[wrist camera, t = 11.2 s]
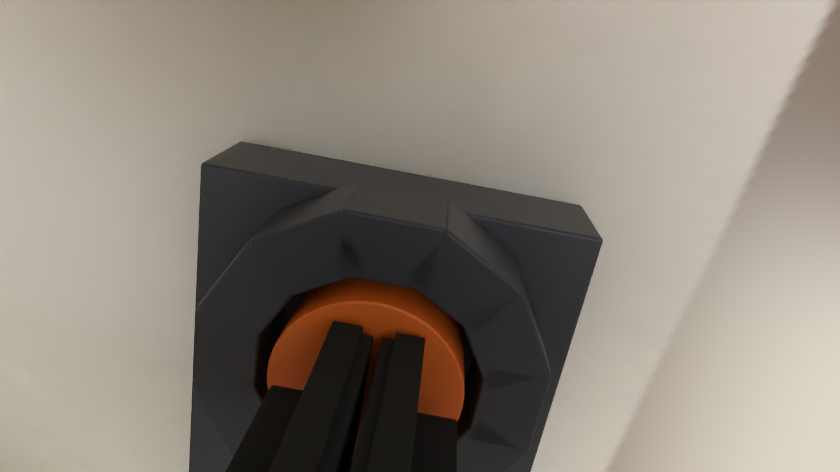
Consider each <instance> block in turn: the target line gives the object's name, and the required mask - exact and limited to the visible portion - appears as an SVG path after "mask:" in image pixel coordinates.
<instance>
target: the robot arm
mask: <svg viewBox="0 0 840 472" xmlns="http://www.w3.org/2000/svg"><path fill="white" fill-rule="evenodd" d="M372 344H373V336H369V335H364V334H363V326H360V325H355V324H349V323H344V322H339V321H333V322H332V324H331V327H330V329H329V331H328V334H327V336H326V339H325V341H324V343H323V346H322V348H321V350H320V353H319V355H318V357H317V360H316V362H315V364H314V367H313V369H312V371H311V374H310V376H309V378H308V381H307V383H306V385H305V388H304V390H298V389H293V388H288V387H282V386H277V385H272V386H271V387H270V388H269V390H268V392H267V393H266V395H265V397H264V399H263V401H262V403H261V405H260V407H259V409H258V411H257V413H256V414H255V416H254V418H253V420H252V422H251V424H250V426H249V428H248V430H247V432H246V434H245V436H244V437H243V439H242V441H241V443H240V445H239V447H238V449H237V451H236V453H235V455H234V457H233V459H232V460H231V462H230V464H229V466H228V468H227V470H226V472H457V421H456V419H451V418H446V417H441V416H436V415H430V414H425V413H420V412H417V411H418V402H419V393H420V384H421V375H422V366H423V357H424V348H425V338H423V337H418V336H413V335H407V334H402V333H397V332H396V335H395V340H390V339H385V338H383V339H382V343H381V347H380V351H379V355H378V359H377V363H376V367H375V371H374V376H373V380H372V384H371V388H370V392H369V396H368V400H367V404H366V408H365V412H364V416H363V420H362V424H361V428H360V432H359V436H358V440H357V444H356V438H357V432H358V426H359V420H360V415H361V409H362V403H363V397H364V391H365V385H366V379H367V373H368V367H369V361H370V356H371V350H372ZM355 444H356V448H355ZM354 450H355V452H354ZM353 456H354V457H353Z"/></svg>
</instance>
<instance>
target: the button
mask: <svg viewBox="0 0 840 472" xmlns="http://www.w3.org/2000/svg"><path fill="white" fill-rule="evenodd" d="M333 321H339V322H344V323H349V324H355V325H360V326H363V334H364V335H369V336H373V344H372V350H371V356H370V361H369V367H368V373H367V379H366V385H365V391H364V397H363V403H362V409H361V415H360V420H359V426H358V432H357V438H356V444H357V440H358V436H359V432H360V428H361V424H362V420H363V416H364V412H365V408H366V404H367V400H368V396H369V392H370V388H371V384H372V380H373V376H374V371H375V367H376V363H377V359H378V355H379V351H380V347H381V343H382V339H383V338H385V339H390V340H395V335H396V332H397V333H402V334H407V335H413V336H418V337H423V338H425V348H424V357H423V366H422V375H421V384H420V393H419V402H418V411H417V412H420V413H425V414H430V415H436V416H441V417H446V418H451V419H456V421H458V419H459V417H460V414H461V411H462V408H463V403H464V388H465V384H464V334H463V328H462V325H461V324H459V323H458V322H457V321H456V320H454V319H453V318H452V317H451V316H449V315H448V314H447V313H446V312H444V311H443V310H442V309H440V308H439V307H438V306H437V305H435V304H434V303H433V302H432V301H430V300H429V299H428V298H426V297H425V296H424V295H423V294H421V293H420V292H419V291H418V290H416V289H413V288H407V287H402V286H397V285H391V284H386V283H381V282H376V281H370V280H365V279H360V278H354V277H351V278H347V279H344V280H341V281H338V282H334V283H331V284H328V285H325V286H322V287H318V288H315V289H312V290H309V291H306V293H305V294H304V295H303V297H302V298H301V300H300V302H299V303H298V305H297V307H296V309H295V310H294V312H293V314H292V316H291V317H290V319H289V321H288V323H287V324H286V326H285V328H284V330H283V331H282V333H281V335H280V337H279V338H278V340H277V342H276V344H275V346H274V348H273V350H272V353H271V356H270V359H269V363H268V369H267V386H268V390H269V388H270V387H271V386H272V385H277V386H282V387H288V388H293V389H298V390H304V388H305V385H306V383H307V381H308V378H309V376H310V374H311V371H312V369H313V367H314V364H315V362H316V360H317V357H318V355H319V353H320V350H321V348H322V346H323V343H324V341H325V339H326V336H327V334H328V331H329V329H330V327H331V324H332V322H333ZM356 444H355V448H356ZM354 452H355V450H354ZM353 457H354V456H353Z"/></svg>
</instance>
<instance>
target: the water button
mask: <svg viewBox="0 0 840 472" xmlns="http://www.w3.org/2000/svg"><path fill="white" fill-rule="evenodd" d="M602 242H603V241H602V238H601V236H600V234H599V233H598V231H597V230H596V228H595V227H594V225H593V224H592V222H591V220H590V219H589V217H588V216H587V214H586V213H585V211H584V210H583V208H582V207H581V206H580V205H574V204H569V203H564V202H559V201H553V200H548V199H543V198H537V197H532V196H527V195H522V194H516V193H511V192H506V191H500V190H495V189H490V188H485V187H479V186H474V185H469V184H463V183H458V182H453V181H447V180H442V179H437V178H432V177H426V176H421V175H416V174H410V173H405V172H400V171H395V170H389V169H384V168H379V167H373V166H368V165H363V164H358V163H352V162H347V161H342V160H336V159H331V158H326V157H320V156H315V155H310V154H305V153H299V152H294V151H289V150H283V149H278V148H273V147H268V146H262V145H257V144H252V143H246V142H239V143H238V144H236V145H234V146H232V147H230V148H229V149H227V150H225V151H223V152H222V153H220V154H218V155H216V156H214V157H213V158H211V159H209V160H207V161H206V162H204V163H202V165H201V184H200V209H199V234H198V260H197V285H196V310H195V335H194V361H193V386H192V411H191V437H190V462H189V472H226V470H227V468H228V466H229V464H230V462H231V460H232V459H233V457H234V455H235V453H236V451H237V449H238V447H239V445H240V443H241V441H242V439H243V437H244V436H245V434H246V432H247V430H248V428H249V426H250V424H251V422H252V420H253V418H254V416H255V414H256V413H257V411H258V409H259V407H260V405H261V403H262V401H263V399H264V397H265V395H266V393H267V392H268V386H267V369H268V363H269V359H270V356H271V353H272V350H273V348H274V346H275V344H276V342H277V340H278V338H279V337H280V335H281V333H282V331H283V330H284V328H285V326H286V324H287V323H288V321H289V319H290V317H291V316H292V314H293V312H294V310H295V309H296V307H297V305H298V303H299V302H300V300H301V298H302V297H303V295H304V294H305V293H306V291H309V290H312V289H315V288H318V287H322V286H325V285H328V284H331V283H334V282H338V281H341V280H344V279H347V278H351V277H354V278H360V279H365V280H370V281H376V282H381V283H386V284H391V285H397V286H402V287H407V288H413V289H416V290H418V291H419V292H420V293H421V294H423V295H424V296H425V297H426V298H428V299H429V300H430V301H432V302H433V303H434V304H435V305H437V306H438V307H439V308H440V309H442V310H443V311H444V312H446V313H447V314H448V315H449V316H451V317H452V318H453V319H454V320H456V321H457V322H458V323H459V324H461V325H462V328H463V334H464V384H465V388H464V403H463V408H462V411H461V414H460V417H459V419H458V421H457V472H530V471H531V468H532V465H533V462H534V459H535V455H536V452H537V449H538V446H539V443H540V439H541V436H542V433H543V430H544V427H545V423H546V420H547V417H548V414H549V411H550V408H551V404H552V401H553V398H554V395H555V392H556V388H557V385H558V382H559V379H560V376H561V372H562V369H563V366H564V363H565V360H566V357H567V353H568V350H569V347H570V344H571V341H572V337H573V334H574V331H575V328H576V325H577V321H578V318H579V315H580V312H581V309H582V305H583V302H584V299H585V296H586V293H587V290H588V286H589V283H590V280H591V277H592V274H593V270H594V267H595V264H596V261H597V258H598V254H599V251H600V248H601V245H602Z"/></svg>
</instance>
